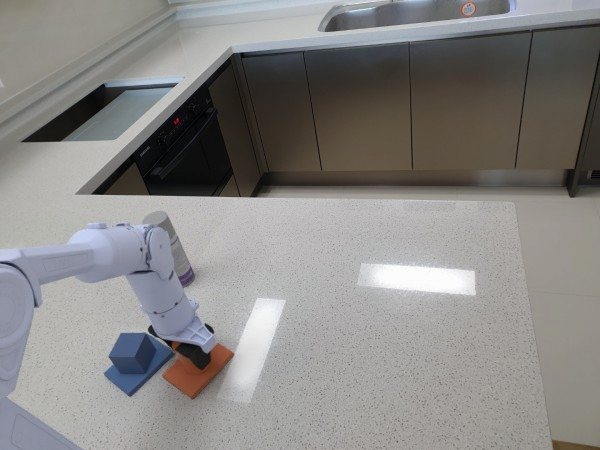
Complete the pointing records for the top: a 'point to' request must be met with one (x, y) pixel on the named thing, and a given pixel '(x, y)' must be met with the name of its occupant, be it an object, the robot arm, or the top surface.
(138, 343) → the blue cube
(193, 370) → the terracotta cylinder
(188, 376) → the terracotta mat
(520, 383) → the top surface
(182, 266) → the container
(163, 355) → the blue mat
